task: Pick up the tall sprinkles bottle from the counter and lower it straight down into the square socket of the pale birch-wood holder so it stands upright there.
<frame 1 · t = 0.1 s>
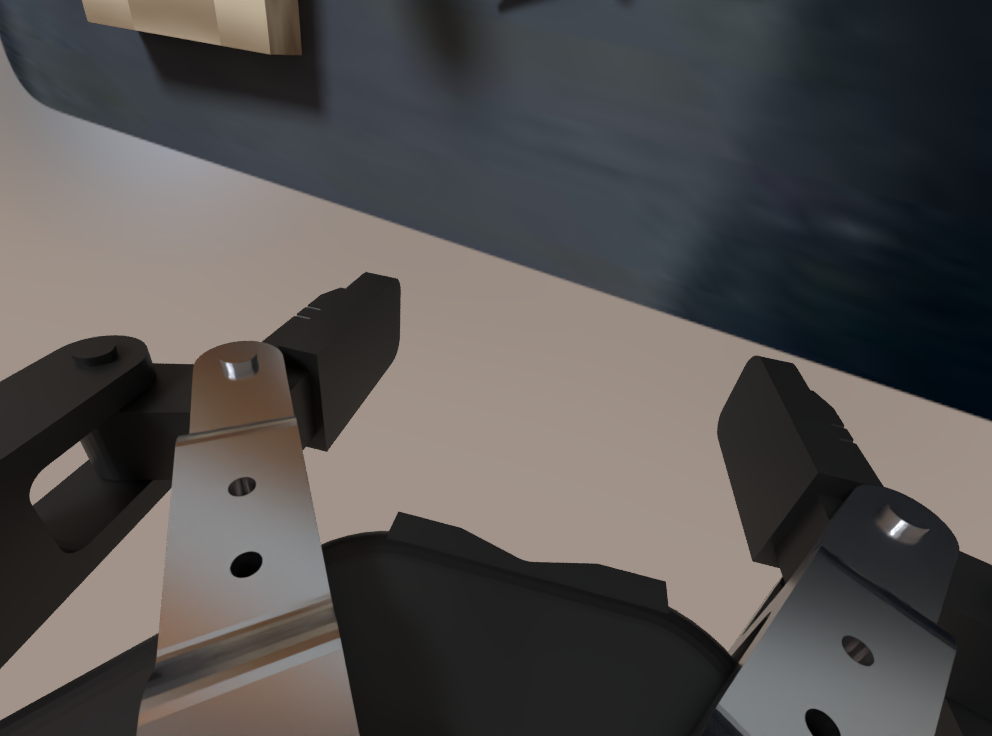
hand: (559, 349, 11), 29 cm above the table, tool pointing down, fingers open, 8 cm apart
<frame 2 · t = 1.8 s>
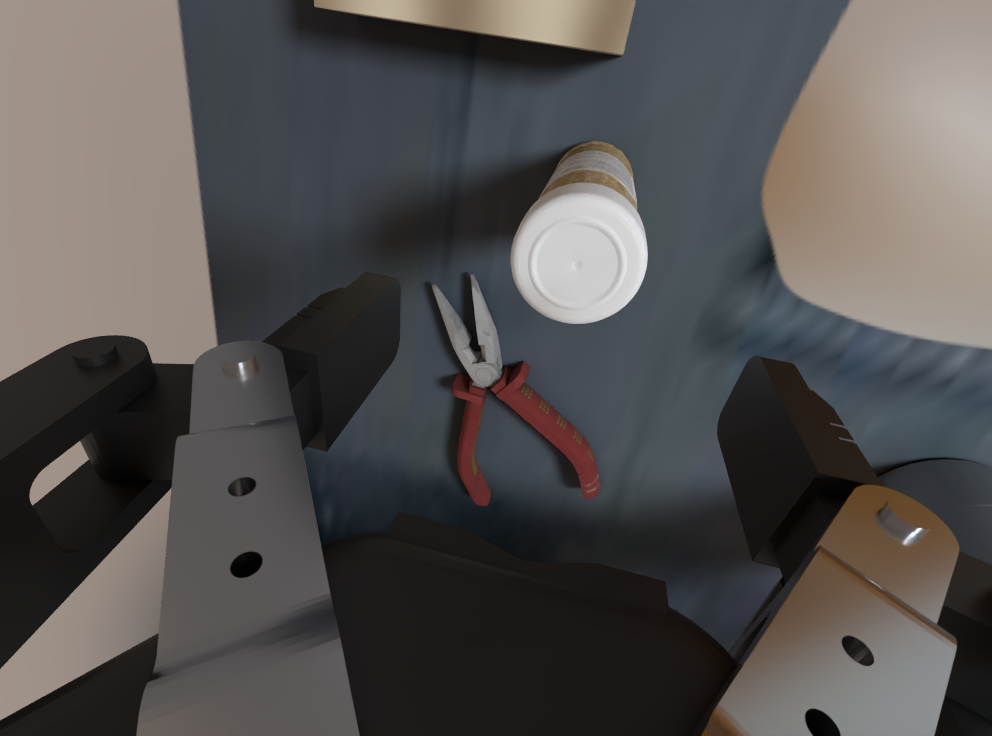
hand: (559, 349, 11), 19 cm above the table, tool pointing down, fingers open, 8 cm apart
pliers: (525, 400, 37), on the table
sprinkles bottle: (592, 182, 27), on the table
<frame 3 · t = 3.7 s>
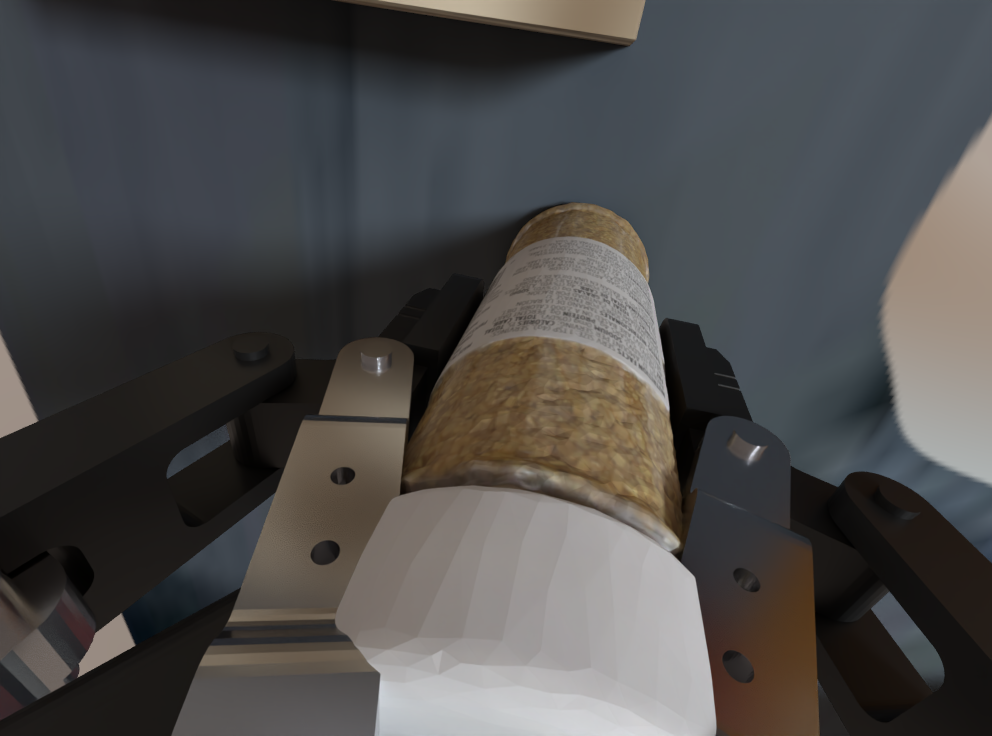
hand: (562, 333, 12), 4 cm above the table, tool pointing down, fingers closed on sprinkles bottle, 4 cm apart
sprinkles bottle: (575, 267, 15), on the table, touching gripper
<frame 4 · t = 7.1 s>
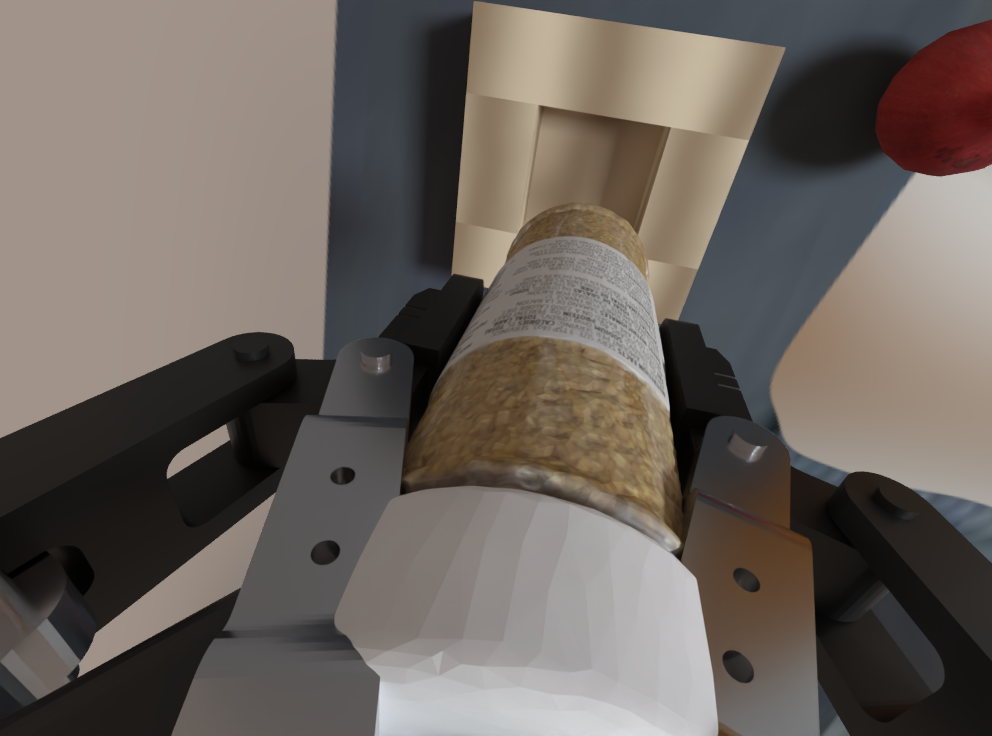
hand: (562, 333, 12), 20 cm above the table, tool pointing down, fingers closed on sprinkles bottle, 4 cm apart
holder: (590, 170, 28), on the table
onion: (914, 97, 24), on the table
sprinkles bottle: (575, 267, 15), point 16 cm above the table, touching gripper
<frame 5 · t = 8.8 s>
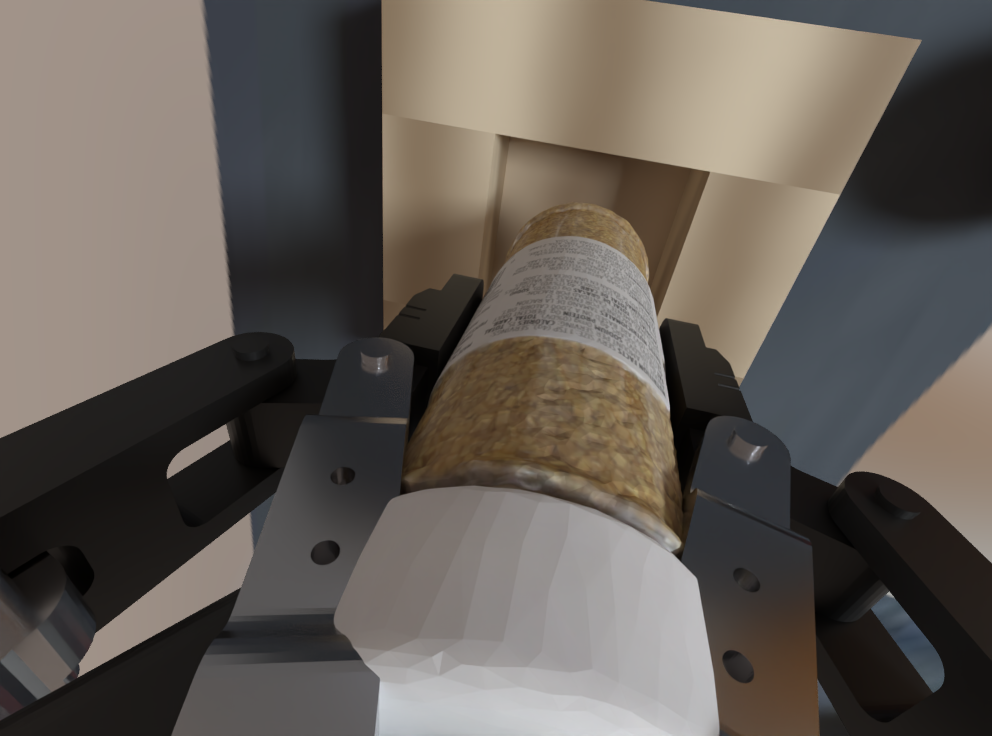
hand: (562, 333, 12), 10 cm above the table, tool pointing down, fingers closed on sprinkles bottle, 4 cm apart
holder: (582, 223, 19), on the table
sprinkles bottle: (575, 267, 15), point 5 cm above the table, touching gripper
when the fingers open (6 cm above the table, at t = 10.4 s): sprinkles bottle stays where it is, resting on holder.
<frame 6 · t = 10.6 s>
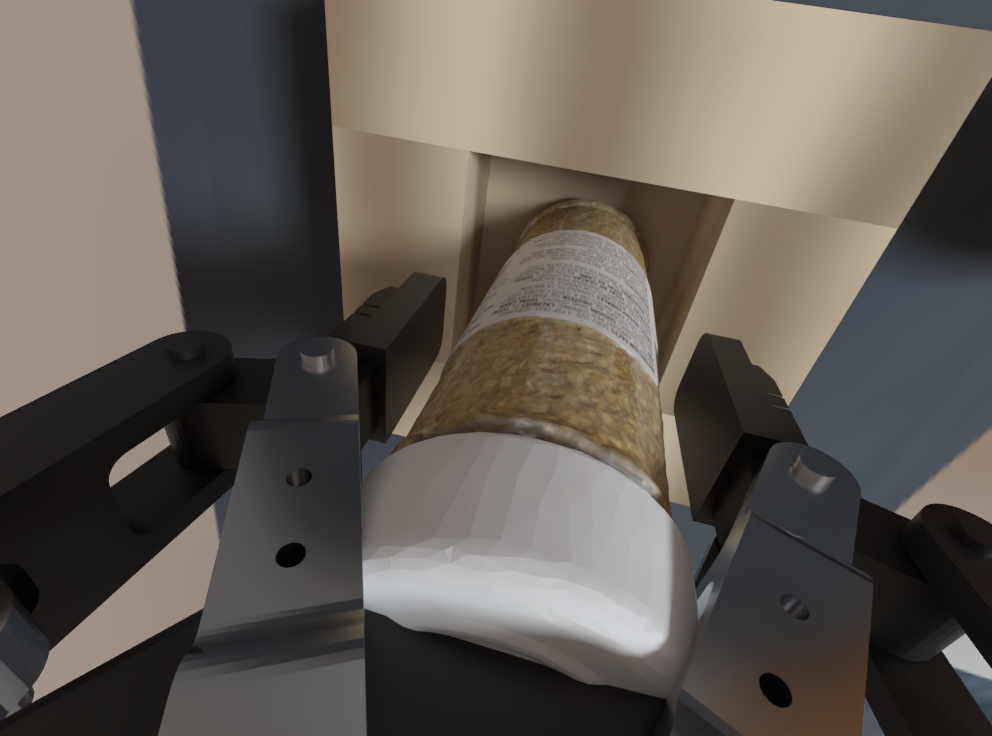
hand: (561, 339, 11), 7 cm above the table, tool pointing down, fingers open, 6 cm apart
holder: (577, 249, 17), on the table
sprinkles bottle: (579, 261, 16), point 1 cm above the table, touching holder
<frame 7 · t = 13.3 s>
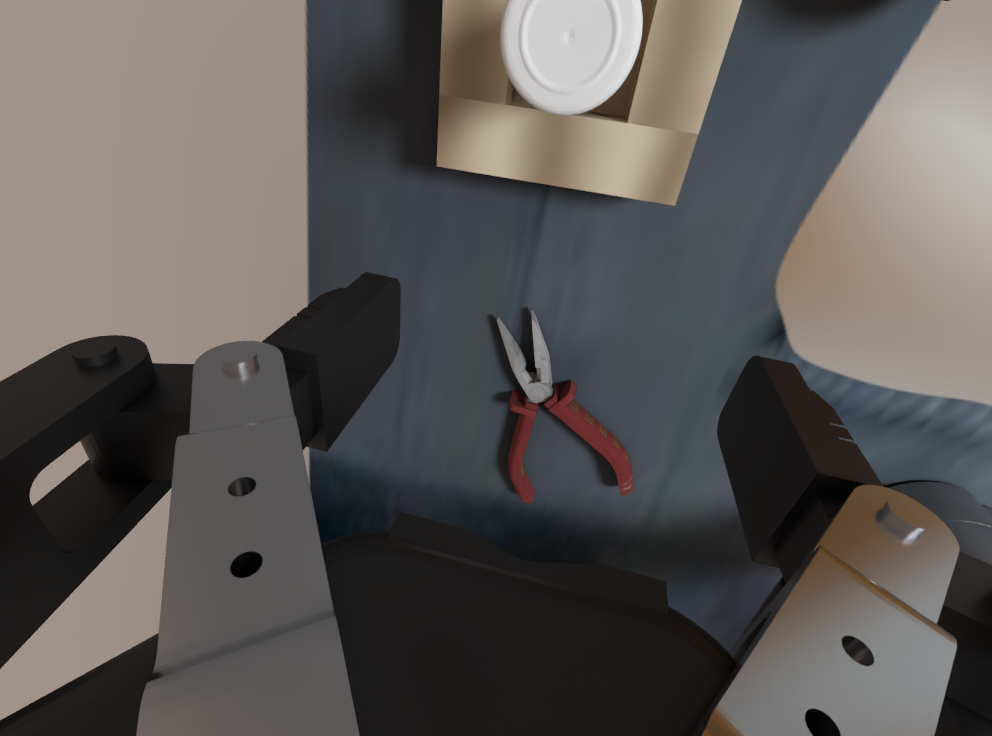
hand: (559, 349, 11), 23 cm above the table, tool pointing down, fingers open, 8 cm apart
holder: (581, 40, 27), on the table
pliers: (569, 412, 42), on the table
sprinkles bottle: (583, 42, 26), point 1 cm above the table, touching holder
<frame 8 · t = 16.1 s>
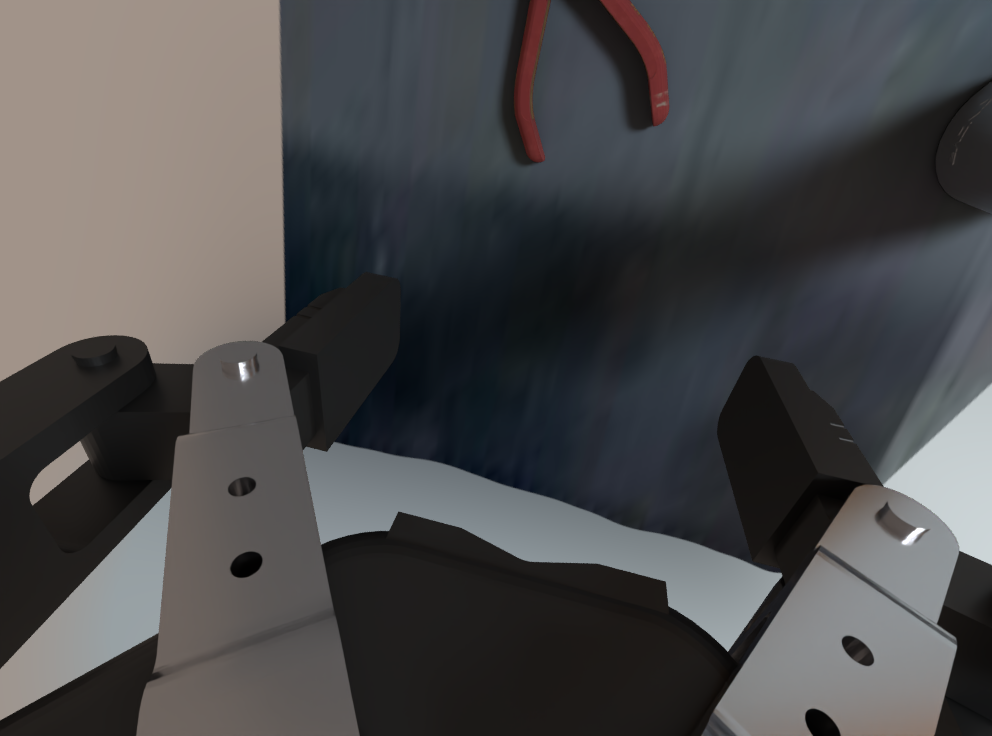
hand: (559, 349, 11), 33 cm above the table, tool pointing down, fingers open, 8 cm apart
pliers: (592, 6, 34), on the table
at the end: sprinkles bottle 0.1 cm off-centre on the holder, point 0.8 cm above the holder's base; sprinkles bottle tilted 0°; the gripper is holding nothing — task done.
